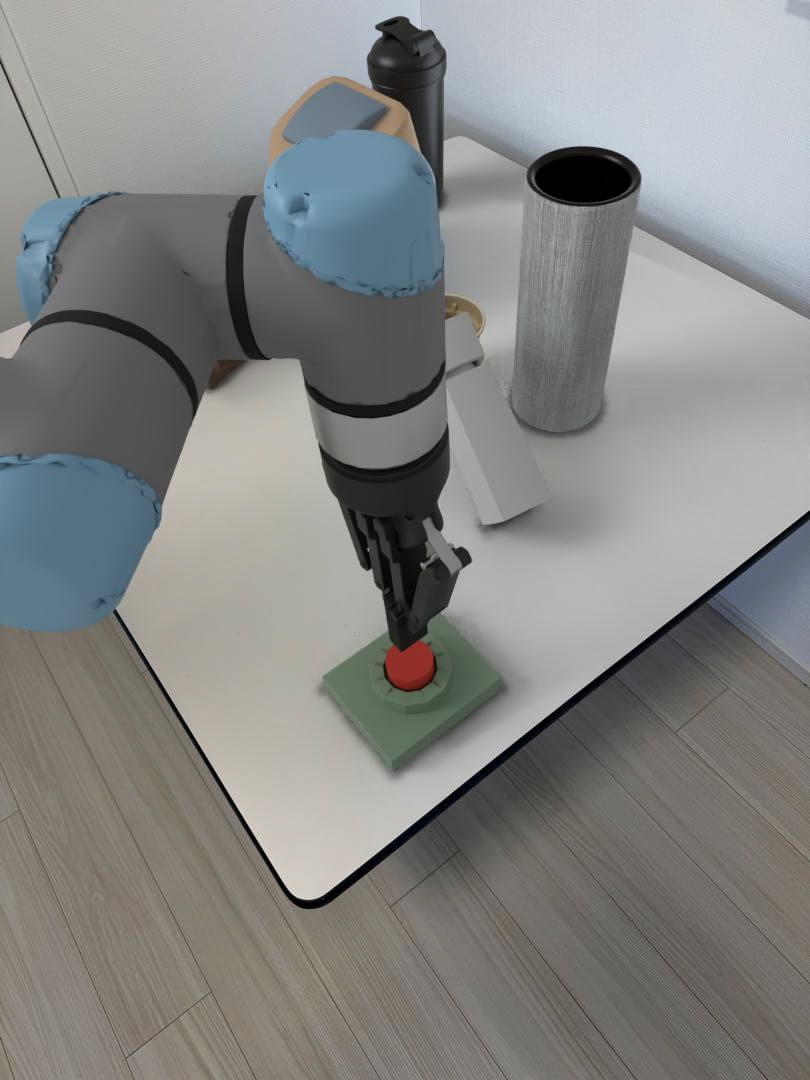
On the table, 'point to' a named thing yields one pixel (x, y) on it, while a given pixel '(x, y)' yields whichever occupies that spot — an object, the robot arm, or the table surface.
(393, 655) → the button
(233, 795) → the table surface
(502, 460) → the faucet
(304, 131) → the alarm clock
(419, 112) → the water bottle
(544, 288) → the vase
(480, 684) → the button box
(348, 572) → the table surface
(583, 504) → the table surface
